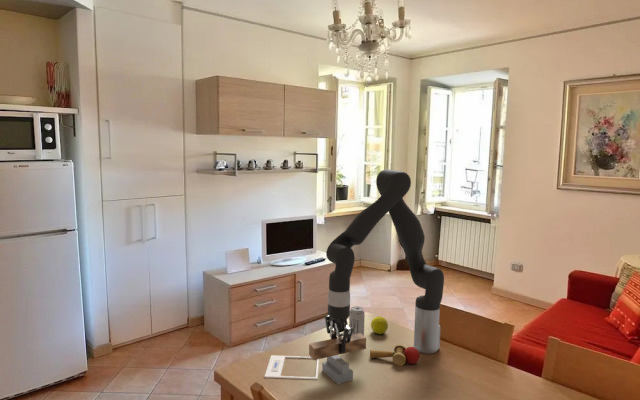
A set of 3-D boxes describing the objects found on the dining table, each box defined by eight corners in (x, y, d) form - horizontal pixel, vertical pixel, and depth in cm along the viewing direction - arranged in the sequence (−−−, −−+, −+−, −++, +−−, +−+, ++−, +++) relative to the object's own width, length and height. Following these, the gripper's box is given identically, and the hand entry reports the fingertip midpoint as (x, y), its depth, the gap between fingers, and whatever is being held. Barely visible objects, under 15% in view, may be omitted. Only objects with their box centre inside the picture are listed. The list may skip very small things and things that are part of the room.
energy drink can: (346, 346, 168) (347, 310, 166) (351, 340, 174) (352, 305, 172) (361, 349, 166) (362, 312, 164) (365, 343, 171) (366, 307, 170)
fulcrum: (336, 366, 153) (336, 350, 152) (352, 379, 145) (353, 362, 144) (322, 370, 150) (322, 354, 149) (338, 384, 141) (338, 367, 141)
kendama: (369, 367, 156) (420, 367, 151) (368, 349, 156) (418, 348, 152) (372, 360, 163) (420, 360, 159) (371, 344, 164) (419, 343, 159)
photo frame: (271, 354, 159) (319, 356, 158) (271, 357, 159) (319, 359, 159) (264, 375, 145) (317, 377, 144) (264, 378, 145) (317, 380, 144)
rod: (359, 343, 152) (360, 333, 152) (365, 348, 149) (366, 337, 148) (309, 354, 144) (309, 343, 143) (314, 360, 140) (314, 348, 140)
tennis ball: (370, 329, 185) (371, 313, 184) (387, 330, 184) (387, 314, 183) (371, 336, 178) (371, 320, 177) (387, 337, 177) (388, 321, 176)
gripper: (360, 306, 140) (359, 356, 142) (336, 293, 152) (335, 339, 154) (341, 311, 136) (340, 361, 138) (318, 297, 148) (317, 344, 150)
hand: (337, 349), depth 146 cm, fingers closed on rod, 4 cm apart
